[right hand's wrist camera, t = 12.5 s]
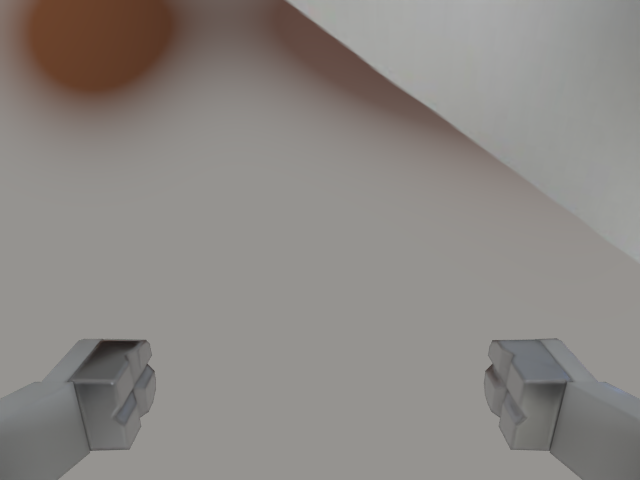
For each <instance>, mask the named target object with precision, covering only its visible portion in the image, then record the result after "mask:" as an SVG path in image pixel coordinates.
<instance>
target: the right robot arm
mask: <svg viewBox="0 0 640 480" xmlns="http://www.w3.org/2000/svg"><path fill="white" fill-rule="evenodd" d="M151 356H152V353H151V348H150V344H149V342H148V341H147V340H132V339H83V340H79V341H78V342H77V343H76V344H75V345H74V346H73V347H72V349H71V350H70V351H69V352H68V353H67V354H66V355H65V356H64V358H63V359H62V360H61V361H60V362H59V363H58V364H57V365H56V366H55V367H54V369H53V370H52V371H51V372H50V373H49V374H48V375H47V377H46V378H45V379H44V380H43V381H42V382H34V383H31V384H29V385H27V386H25V387H23V388H21V389H19V390H17V391H15V392H13V393H11V394H9V395H7V396H5V397H3V398H1V399H0V480H58V479H59V478H60V477H61V476H63V475H64V474H65V473H66V472H68V471H69V470H70V469H71V468H72V467H73V466H75V465H76V464H77V463H78V462H80V461H81V460H82V459H83V458H84V457H86V456H87V455H88V454H89V453H90V451H96V450H129V449H130V448H131V445H132V444H133V442H134V440H135V438H136V436H137V434H138V432H139V430H140V428H141V422H140V417H142V416H143V415H145V414H146V413H147V412H149V410H150V408H151V405H152V403H153V400H154V395H155V391H156V378H155V371H154V370H153V369H152V368H151V367H150V366H149V365H148V364H147V363H148V361H149V359H150V358H151ZM488 356H489V358H490V359H491V361H492V363H493V364H492V365H491V366H490V367H489V368H488V369H487V370H486V371H485V379H484V389H485V396H486V400H487V403H488V405H489V408H490V410H491V411H492V412H493V413H494V414H496V415H497V416H499V417H500V422H499V428H500V430H501V432H502V434H503V436H504V437H505V439H506V442H507V443H508V445H509V447H510V449H511V450H543V451H550V453H551V454H552V455H553V456H555V457H556V458H557V459H558V460H559V461H561V462H562V463H563V464H564V465H565V466H567V467H568V468H569V469H570V470H571V471H573V472H574V473H575V474H576V475H578V476H579V477H580V478H581V479H582V480H640V399H639V398H637V397H635V396H633V395H631V394H629V393H627V392H625V391H623V390H621V389H619V388H617V387H615V386H613V385H611V384H609V383H606V382H598V381H597V380H596V379H595V378H594V376H593V375H592V374H591V373H590V372H589V371H588V370H587V369H586V367H585V366H584V365H583V364H582V363H581V362H580V361H579V360H578V359H577V357H576V356H575V355H574V354H573V353H572V352H571V351H570V350H569V349H568V347H567V346H566V345H565V344H564V343H563V342H562V341H561V340H559V339H535V340H493V341H492V342H491V345H490V347H489V353H488Z"/></svg>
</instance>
